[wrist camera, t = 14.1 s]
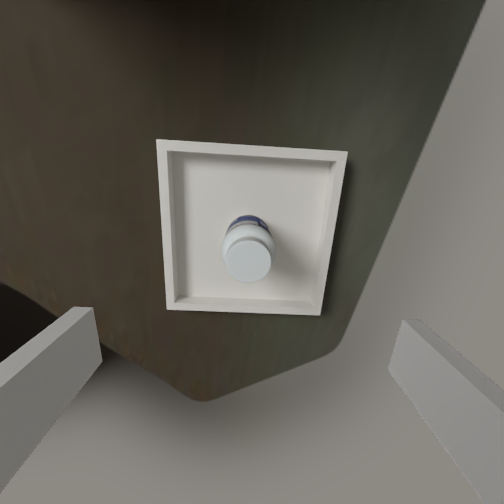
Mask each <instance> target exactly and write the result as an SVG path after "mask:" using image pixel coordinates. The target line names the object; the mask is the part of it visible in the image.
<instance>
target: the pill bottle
mask: <svg viewBox="0 0 504 504" xmlns="http://www.w3.org/2000/svg"><path fill="white" fill-rule="evenodd" d="M221 255H222V259H223V262H224V264H225V266H226V267H227V270H228V272H229V274H230V275H231V276H232V277H233V278H234V279H236V280H237V281H239V282H243V283H255V282H258V281H260V280H261V279H263V278H264V277H265V276H266V275H267V274H268V272H269V271H270V268H271V266H272V264H273V262H274V260H275V256H276V247H275V243H274V240H273V238H272V235H271V233H270V231H269V228H268V226H267V225H266V223H265V222H264V221H263V220H262V219H261V218H259V217H257V216H254V215H242V216H239V217H237V218H236V219H234V220H233V221H232V222H231V224H230V225H229V227H228V229H227V232H226V234H225V237H224V240H223V242H222V246H221Z"/></svg>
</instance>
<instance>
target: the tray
mask: <svg viewBox="0 0 504 504" xmlns="http://www.w3.org/2000/svg"><path fill="white" fill-rule="evenodd" d="M156 143H157V159H158V175H159V191H160V207H161V223H162V239H163V255H164V270H165V286H166V302H167V310H192V311H218V312H245V313H271V314H297V315H320V313H321V307H322V301H323V296H324V290H325V284H326V278H327V272H328V266H329V260H330V254H331V248H332V242H333V236H334V230H335V225H336V219H337V213H338V207H339V201H340V195H341V189H342V183H343V177H344V171H345V165H346V159H347V154H348V152H346V151H330V150H315V149H300V148H284V147H269V146H253V145H238V144H222V143H207V142H191V141H176V140H160V139H156ZM242 215H254V216H257V217H259V218H261V219H262V220H263V221H264V222H265V223H266V225H267V226H268V228H269V231H270V233H271V235H272V238H273V240H274V243H275V247H276V256H275V260H274V262H273V264H272V266H271V268H270V271H269V272H268V274H267V275H266V276H265V277H264V278H263V279H261V280H260V281H258V282H255V283H243V282H239V281H237V280H236V279H234V278H233V277H232V276H231V275H230V274H229V272H228V270H227V267H226V266H225V264H224V262H223V259H222V255H221V246H222V242H223V240H224V237H225V234H226V232H227V229H228V227H229V225H230V224H231V222H232V221H233V220H234V219H236V218H237V217H239V216H242Z"/></svg>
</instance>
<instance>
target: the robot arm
mask: <svg viewBox="0 0 504 504" xmlns="http://www.w3.org/2000/svg"><path fill="white" fill-rule="evenodd" d="M101 362H102V357H101V351H100V345H99V339H98V334H97V328H96V323H95V317H94V311H93V308H90V307H73V308H72V309H70V310H69V311H68V312H66V313H65V314H64V315H63V316H61V317H60V318H59V319H57V320H56V321H55V322H53V323H52V324H51V325H49V326H48V327H47V328H46V329H44V330H43V331H42V332H40V333H39V334H38V335H36V336H35V337H34V338H33V339H31V340H30V341H29V342H27V343H26V344H25V345H23V346H22V347H21V348H19V349H18V350H17V351H16V352H14V353H13V354H12V355H10V356H9V357H8V358H6V359H5V360H4V361H2V362H1V363H0V493H1V492H2V490H3V489H4V488H5V487H6V485H7V484H8V483H9V481H10V480H11V479H12V477H13V476H14V475H15V474H16V472H17V471H18V470H19V468H20V467H21V466H22V465H23V463H24V462H25V461H26V459H27V458H28V457H29V455H30V454H31V453H32V452H33V450H34V449H35V448H36V446H37V445H38V444H39V442H40V441H41V440H42V439H43V437H44V436H45V435H46V434H47V432H48V431H49V430H50V428H51V427H52V426H53V424H54V423H55V422H56V420H57V419H58V418H59V417H60V415H61V414H62V413H63V412H64V410H65V409H66V408H67V406H68V405H69V404H70V402H71V401H72V400H73V398H74V397H75V396H76V395H77V393H78V392H79V391H80V390H81V388H82V387H83V386H84V384H85V383H86V382H87V380H88V379H89V378H90V377H91V375H92V374H93V373H94V371H95V370H96V369H97V368H98V366H99V365H100V364H101ZM388 371H389V372H390V374H391V375H392V376H393V378H394V379H395V380H396V382H397V383H398V385H399V386H400V387H401V389H402V390H403V392H404V393H405V394H406V396H407V397H408V399H409V400H410V401H411V402H412V404H413V405H414V407H415V408H416V410H417V411H418V412H419V414H420V415H421V417H422V418H423V419H424V421H425V422H426V424H427V425H428V426H429V428H430V429H431V430H432V432H433V433H434V435H435V436H436V437H437V439H438V440H439V441H440V443H441V444H442V446H443V447H444V448H445V450H446V451H447V453H448V454H449V455H450V457H451V458H452V460H453V461H454V462H455V464H456V465H457V467H458V468H459V469H460V471H461V472H462V473H463V475H464V476H465V478H466V479H467V480H468V482H469V483H470V484H471V486H472V487H473V489H474V490H475V491H476V493H477V494H478V496H479V497H480V498H481V500H482V501H483V503H484V504H504V390H503V389H501V388H500V387H499V386H498V385H497V384H495V383H494V382H493V381H492V380H491V379H490V378H488V377H487V376H486V375H485V374H484V373H482V372H481V371H480V370H479V369H478V368H476V367H475V366H474V365H473V364H472V363H470V362H469V361H468V360H467V359H466V358H465V357H463V356H462V355H461V354H460V353H459V352H457V351H456V350H455V349H454V348H453V347H452V346H450V345H449V344H448V343H447V342H445V341H444V340H443V339H442V338H441V337H440V336H438V335H437V334H436V333H435V332H434V331H432V330H431V329H430V328H429V327H428V326H427V325H425V324H424V323H423V322H422V321H420V320H410V319H403V320H402V323H401V326H400V330H399V333H398V337H397V340H396V343H395V346H394V350H393V353H392V357H391V360H390V363H389V366H388Z"/></svg>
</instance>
